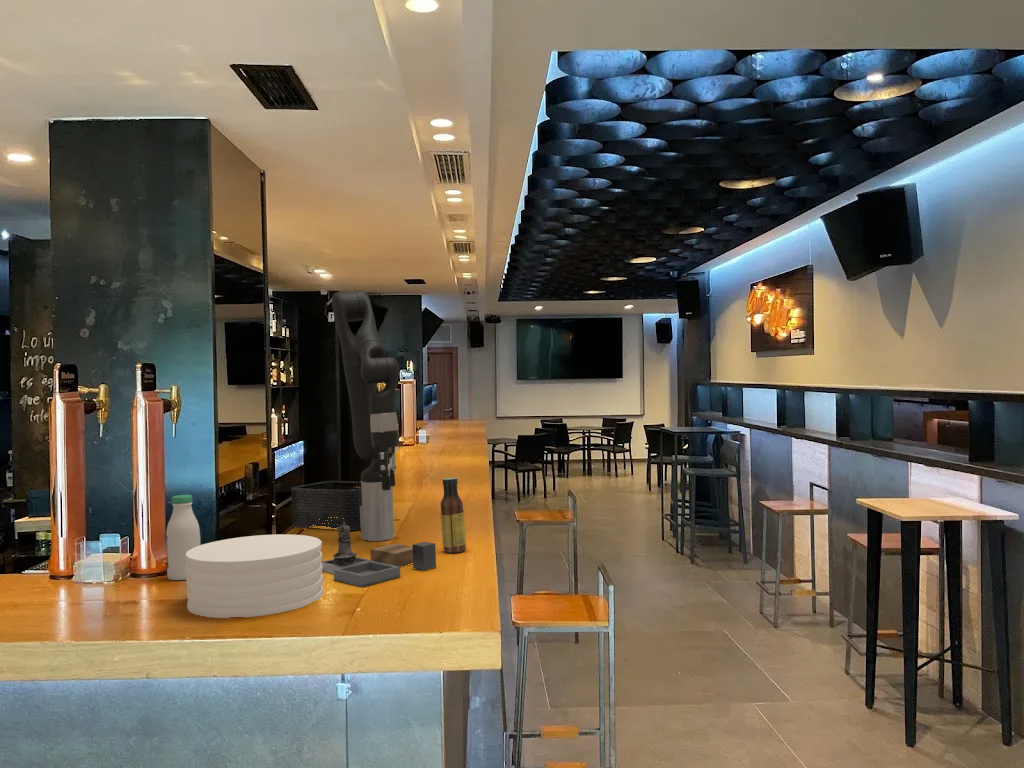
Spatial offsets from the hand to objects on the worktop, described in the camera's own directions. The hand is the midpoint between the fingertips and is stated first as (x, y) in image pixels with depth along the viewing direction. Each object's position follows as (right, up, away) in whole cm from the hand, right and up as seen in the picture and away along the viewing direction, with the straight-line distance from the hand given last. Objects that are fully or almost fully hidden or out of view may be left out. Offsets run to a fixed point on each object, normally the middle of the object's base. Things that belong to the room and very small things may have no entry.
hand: (389, 488), depth 217 cm
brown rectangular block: (+4, -17, -16) cm, 24 cm away
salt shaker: (-8, -18, -21) cm, 29 cm away
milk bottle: (-46, -19, -25) cm, 56 cm away
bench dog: (+12, -17, -23) cm, 31 cm away
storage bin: (-23, -18, +44) cm, 53 cm away
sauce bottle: (+18, -17, -4) cm, 25 cm away
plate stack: (-21, -18, -46) cm, 54 cm away
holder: (-8, -17, -21) cm, 29 cm away
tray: (0, -17, -32) cm, 36 cm away
